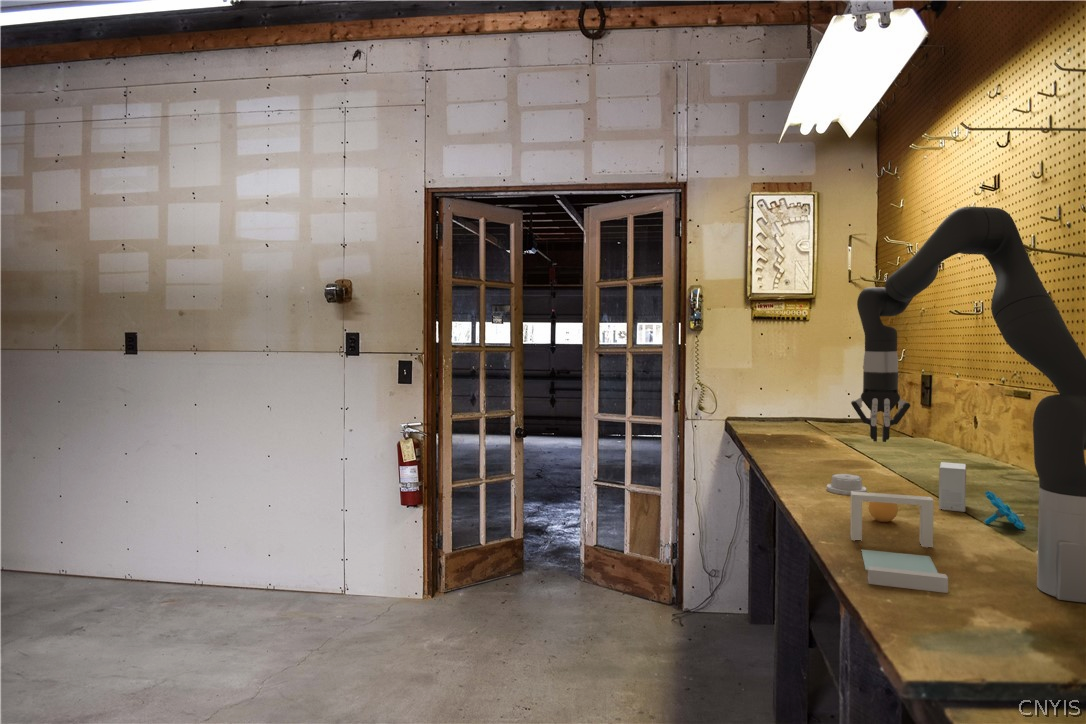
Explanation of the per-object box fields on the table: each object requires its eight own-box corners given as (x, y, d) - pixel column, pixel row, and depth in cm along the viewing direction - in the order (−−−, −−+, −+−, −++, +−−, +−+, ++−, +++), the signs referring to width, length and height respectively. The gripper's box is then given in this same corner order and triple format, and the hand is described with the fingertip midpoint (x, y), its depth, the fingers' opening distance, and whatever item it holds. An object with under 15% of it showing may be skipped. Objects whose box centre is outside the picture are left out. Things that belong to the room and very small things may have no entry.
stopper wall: (947, 593, 113) (948, 578, 113) (868, 583, 117) (868, 569, 117) (945, 588, 115) (945, 574, 115) (867, 579, 119) (867, 565, 119)
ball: (899, 526, 151) (899, 499, 151) (869, 523, 153) (869, 497, 153) (896, 519, 157) (896, 493, 156) (867, 516, 159) (867, 491, 159)
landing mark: (940, 578, 119) (940, 577, 119) (865, 570, 124) (865, 569, 124) (929, 557, 130) (929, 556, 130) (861, 550, 135) (861, 549, 135)
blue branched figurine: (1024, 528, 143) (986, 489, 148) (1000, 544, 146) (964, 505, 151) (1031, 523, 151) (995, 487, 156) (1008, 539, 154) (973, 503, 159)
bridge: (932, 547, 136) (933, 500, 136) (851, 540, 142) (851, 494, 141) (930, 543, 139) (931, 496, 138) (850, 536, 144) (850, 491, 144)
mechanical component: (873, 496, 179) (855, 487, 189) (874, 479, 179) (855, 472, 189) (836, 496, 179) (820, 488, 189) (837, 480, 179) (820, 472, 189)
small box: (965, 512, 161) (966, 469, 161) (938, 509, 164) (939, 467, 164) (965, 505, 168) (966, 463, 168) (939, 502, 171) (940, 461, 171)
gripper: (850, 370, 162) (849, 442, 163) (914, 371, 157) (913, 445, 157) (848, 368, 169) (848, 437, 169) (910, 369, 164) (909, 440, 164)
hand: (879, 441), depth 163 cm, fingers closed
